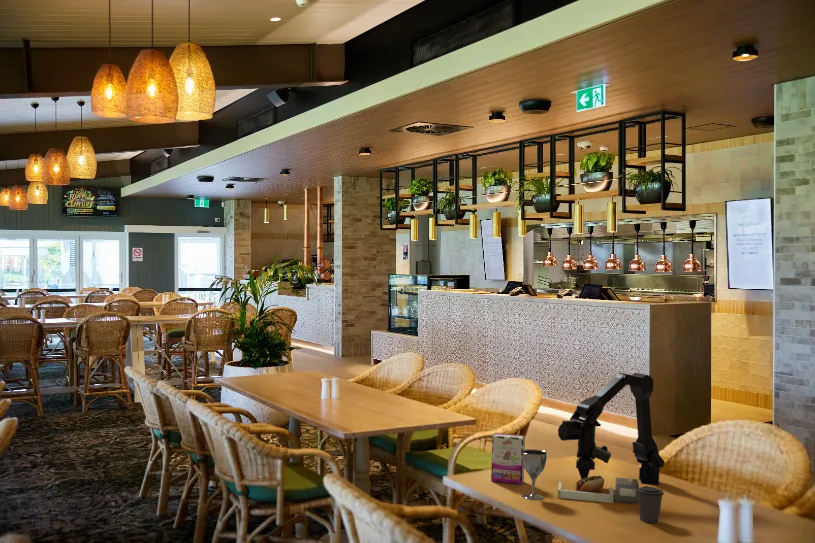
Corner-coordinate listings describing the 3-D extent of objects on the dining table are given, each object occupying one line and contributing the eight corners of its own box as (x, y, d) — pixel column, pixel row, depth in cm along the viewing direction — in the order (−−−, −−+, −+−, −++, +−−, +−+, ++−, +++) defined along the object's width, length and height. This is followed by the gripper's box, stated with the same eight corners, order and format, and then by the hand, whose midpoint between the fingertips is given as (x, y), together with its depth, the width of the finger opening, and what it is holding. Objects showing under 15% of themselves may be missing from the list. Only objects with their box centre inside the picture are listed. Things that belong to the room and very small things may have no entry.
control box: (637, 496, 263) (638, 478, 263) (639, 504, 255) (640, 485, 255) (614, 494, 265) (614, 476, 265) (615, 501, 257) (616, 482, 257)
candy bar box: (524, 481, 278) (525, 435, 277) (521, 485, 273) (523, 438, 273) (493, 478, 281) (494, 432, 281) (490, 481, 276) (492, 435, 276)
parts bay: (612, 493, 266) (612, 486, 266) (613, 503, 255) (613, 495, 255) (558, 488, 270) (558, 481, 270) (557, 497, 259) (557, 490, 259)
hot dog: (607, 491, 269) (608, 476, 269) (585, 497, 260) (585, 482, 260) (595, 487, 273) (595, 473, 273) (572, 494, 264) (573, 479, 264)
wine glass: (544, 494, 263) (545, 450, 262) (546, 501, 255) (547, 455, 255) (520, 492, 263) (522, 448, 263) (521, 499, 255) (523, 454, 255)
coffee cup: (641, 514, 244) (642, 482, 244) (667, 520, 239) (668, 488, 239) (630, 520, 238) (632, 487, 238) (656, 526, 233) (658, 493, 233)
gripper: (611, 447, 260) (608, 493, 261) (609, 435, 279) (607, 479, 279) (577, 444, 263) (574, 490, 263) (577, 432, 281) (575, 475, 281)
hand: (584, 483), depth 271 cm, fingers closed
